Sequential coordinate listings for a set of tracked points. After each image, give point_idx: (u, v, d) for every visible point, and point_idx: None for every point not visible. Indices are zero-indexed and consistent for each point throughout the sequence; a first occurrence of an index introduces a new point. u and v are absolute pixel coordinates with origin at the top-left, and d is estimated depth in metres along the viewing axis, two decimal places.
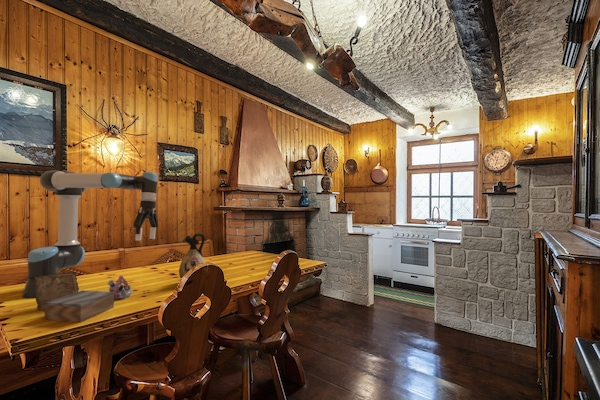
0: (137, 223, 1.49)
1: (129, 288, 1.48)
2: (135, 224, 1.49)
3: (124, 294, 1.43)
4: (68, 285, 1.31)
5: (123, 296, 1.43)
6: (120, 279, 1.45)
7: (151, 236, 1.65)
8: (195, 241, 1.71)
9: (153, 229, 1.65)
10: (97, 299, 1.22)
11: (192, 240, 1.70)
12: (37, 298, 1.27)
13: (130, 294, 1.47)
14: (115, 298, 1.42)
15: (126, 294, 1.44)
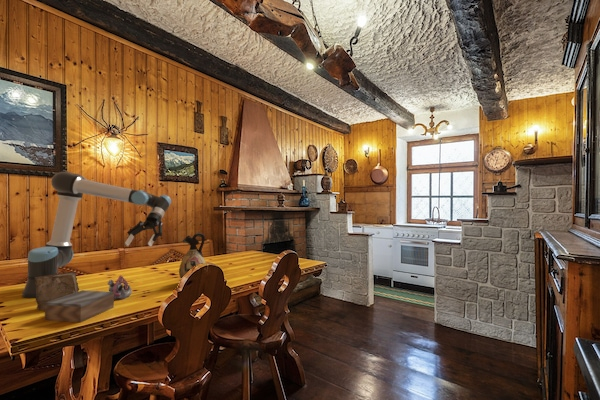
0: (161, 233, 1.64)
1: (129, 288, 1.48)
2: (161, 233, 1.63)
3: (124, 294, 1.43)
4: (68, 285, 1.31)
5: (123, 296, 1.43)
6: (120, 279, 1.45)
7: (128, 242, 1.60)
8: (195, 241, 1.71)
9: (132, 237, 1.64)
10: (97, 299, 1.22)
11: (192, 240, 1.70)
12: (37, 298, 1.27)
13: (130, 294, 1.47)
14: (115, 298, 1.42)
15: (126, 294, 1.44)
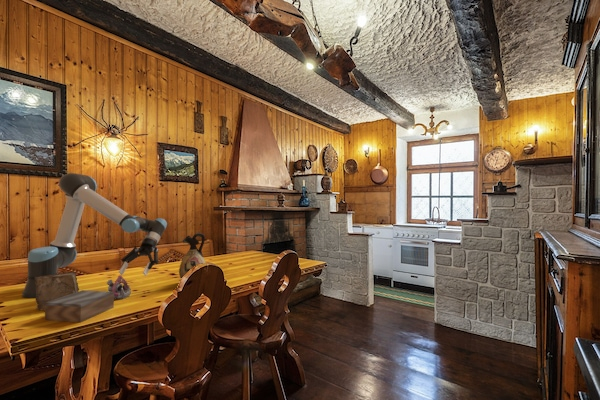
0: (157, 260, 1.58)
1: (128, 288, 1.48)
2: (156, 260, 1.57)
3: (123, 294, 1.43)
4: (68, 285, 1.31)
5: (122, 296, 1.43)
6: (119, 279, 1.45)
7: (122, 270, 1.54)
8: (195, 241, 1.71)
9: (126, 265, 1.58)
10: (97, 299, 1.22)
11: (192, 240, 1.70)
12: (37, 298, 1.27)
13: (129, 294, 1.47)
14: (114, 298, 1.42)
15: (125, 294, 1.44)
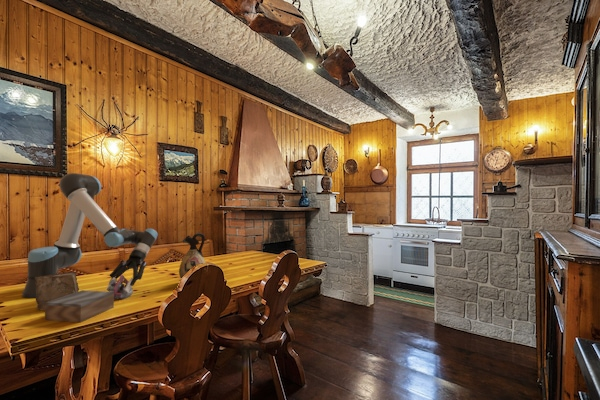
0: (141, 276, 1.50)
1: None
2: (140, 276, 1.49)
3: (125, 294, 1.44)
4: (68, 285, 1.31)
5: (124, 296, 1.43)
6: (121, 279, 1.46)
7: None
8: (195, 241, 1.71)
9: (115, 281, 1.49)
10: (97, 299, 1.22)
11: (192, 240, 1.70)
12: (37, 298, 1.27)
13: (131, 294, 1.47)
14: (116, 297, 1.42)
15: (127, 294, 1.44)
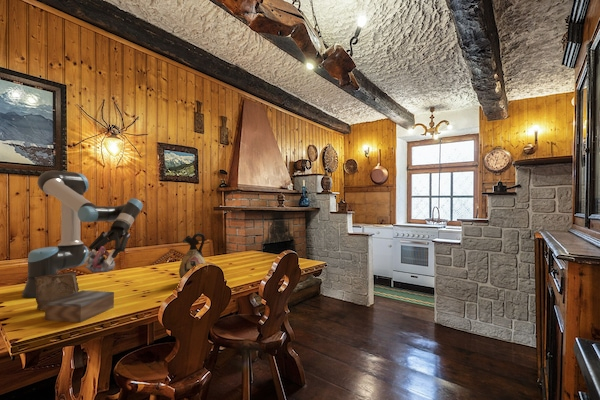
0: (124, 248, 1.35)
1: None
2: (123, 248, 1.34)
3: (106, 266, 1.29)
4: (68, 285, 1.31)
5: (105, 269, 1.29)
6: (101, 250, 1.31)
7: None
8: (195, 241, 1.71)
9: (95, 253, 1.34)
10: (97, 299, 1.22)
11: (192, 240, 1.70)
12: (37, 298, 1.27)
13: (113, 267, 1.33)
14: (96, 271, 1.28)
15: (108, 266, 1.30)
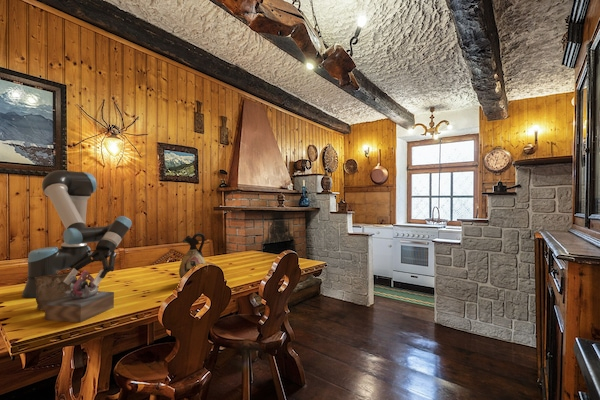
0: (113, 267, 1.29)
1: None
2: (112, 267, 1.28)
3: (87, 292, 1.22)
4: (68, 285, 1.31)
5: (86, 295, 1.22)
6: (83, 275, 1.24)
7: (68, 280, 1.25)
8: (195, 241, 1.71)
9: (75, 273, 1.28)
10: (97, 299, 1.22)
11: (192, 240, 1.70)
12: (37, 298, 1.27)
13: (96, 292, 1.26)
14: (76, 297, 1.21)
15: (90, 292, 1.23)
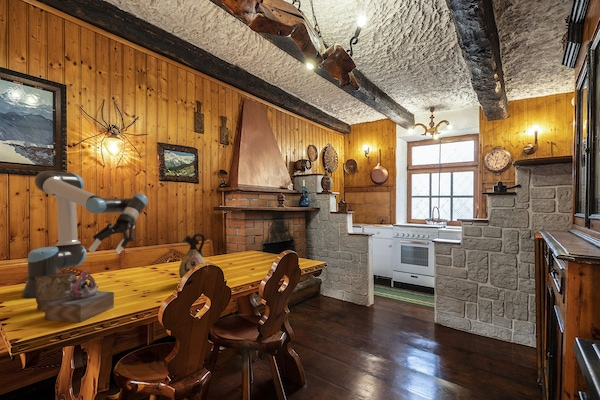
0: (133, 238, 1.41)
1: (94, 285, 1.27)
2: (132, 238, 1.40)
3: (87, 292, 1.22)
4: (68, 285, 1.31)
5: (86, 295, 1.22)
6: (83, 275, 1.24)
7: (92, 248, 1.37)
8: (195, 241, 1.71)
9: (98, 243, 1.40)
10: (97, 299, 1.22)
11: (192, 240, 1.70)
12: (37, 298, 1.27)
13: (95, 292, 1.26)
14: (76, 297, 1.21)
15: (89, 292, 1.23)
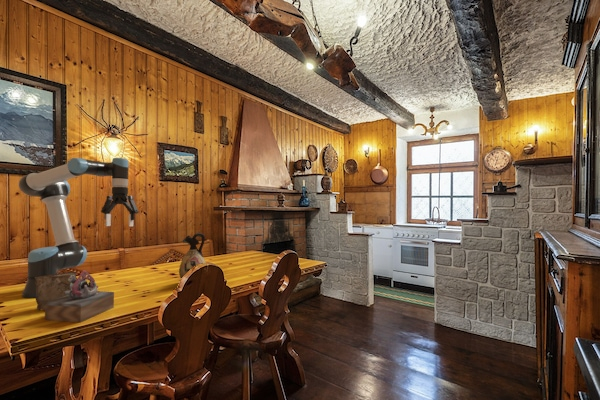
0: (137, 209, 1.57)
1: (94, 285, 1.27)
2: (136, 210, 1.56)
3: (86, 292, 1.22)
4: (68, 285, 1.31)
5: (85, 295, 1.22)
6: (83, 275, 1.24)
7: (108, 223, 1.58)
8: (195, 241, 1.71)
9: (109, 216, 1.59)
10: (97, 299, 1.22)
11: (192, 240, 1.70)
12: (37, 298, 1.27)
13: (95, 292, 1.26)
14: (76, 297, 1.21)
15: (89, 292, 1.23)
